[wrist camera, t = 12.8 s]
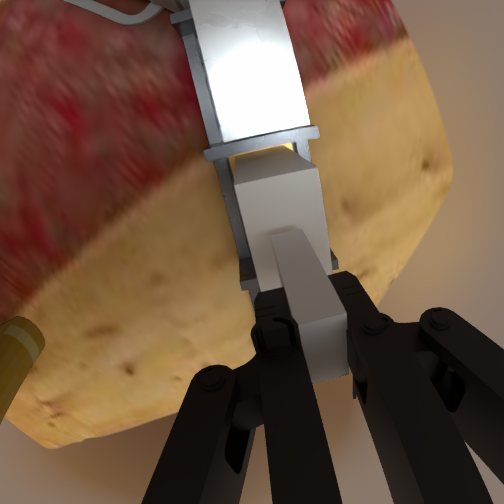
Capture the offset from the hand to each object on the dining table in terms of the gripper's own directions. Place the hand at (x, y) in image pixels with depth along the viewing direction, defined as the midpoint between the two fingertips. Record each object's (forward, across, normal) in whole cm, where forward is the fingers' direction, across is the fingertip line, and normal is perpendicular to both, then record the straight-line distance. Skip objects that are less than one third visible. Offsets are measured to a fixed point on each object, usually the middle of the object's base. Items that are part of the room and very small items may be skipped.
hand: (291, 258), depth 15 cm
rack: (+13, 0, 0) cm, 13 cm away
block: (+12, 0, 0) cm, 12 cm away
